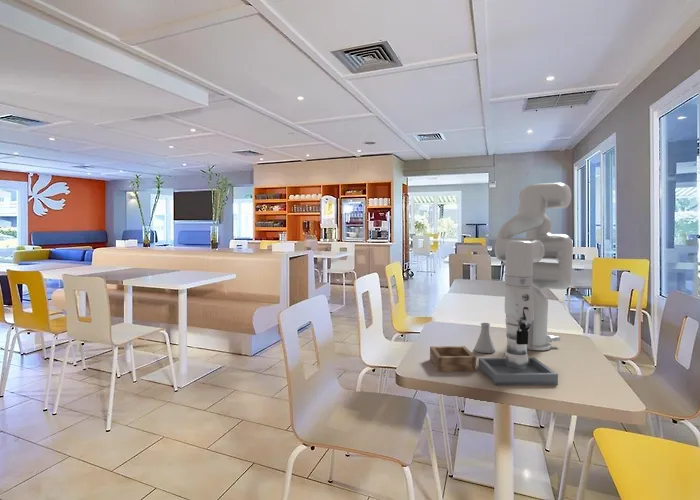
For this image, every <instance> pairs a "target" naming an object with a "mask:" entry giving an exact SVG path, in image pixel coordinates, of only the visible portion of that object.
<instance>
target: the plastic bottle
mask: <svg viewBox="0 0 700 500" xmlns="http://www.w3.org/2000/svg"><path fill="white" fill-rule="evenodd" d="M521 320H525V319H521ZM504 321H505V326H506V327H505V328H506V338H507V339H506V350H505V353H504V358H505V363H506V365H507V366H508V367H510V368H513V369H525V368H526V367H527V366H528V361H529V360H528V357H529V355H528V349H527V344H522V345H518V344H517V343H516V340H517V331H518V325H517V321H516V320H515V319H514V317H513V316H512V314H511V313H508V315H507V316H506V315H505V320H504ZM522 324H524V323H521V326H522Z"/></svg>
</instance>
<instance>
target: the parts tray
mask: <svg viewBox="0 0 700 500" xmlns="http://www.w3.org/2000/svg"><path fill="white" fill-rule="evenodd" d="M528 360H529V361H528V366H527V367H526V368H525V369H513V368H510V367H508V366H507V365H506V363H505V357H478V363H477V364H478V366H477V367H478V369H480V371H481V372H483V374H484V375H485V376H486V377H487V378H488V379H489V380H490V381H491V382H492V383H493V385H495V386H538V385H539V386H540V385H543V386H544V385H545V386H547V385H551V386H552V385H558V384H559V383H558V382H559V374H558V373H557V372H555V371H554V370H552V369H551V368H550V367H549V366H547V365H546V364H544V363H543V362H541V361H539V359H537V358H535V357H529V356H528Z"/></svg>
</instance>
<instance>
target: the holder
mask: <svg viewBox="0 0 700 500" xmlns="http://www.w3.org/2000/svg"><path fill="white" fill-rule="evenodd" d="M429 360H430V362H431V364H432V365H433V367H434V368H435V370H436V372H437V373H438V372H439V373H442V372H443V373H444V372H447V373H449V372H450V373H451V372H453V373H455V372H476V370H477V357H476V355H474V354H473V352H471V351H470V349H468V348H467V347H466V346H465V345H458V346H456V345H454V346H450V345H449V346H444V345H443V346H441V345H440V346H439V345H438V346H429Z"/></svg>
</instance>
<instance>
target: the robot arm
mask: <svg viewBox="0 0 700 500" xmlns="http://www.w3.org/2000/svg"><path fill="white" fill-rule="evenodd" d="M571 201H572V190H571V188H570V186H569V185H568V184H566V183H563V182H547V183H546V182H545V183H534V184H533V183H532V184H529V185H527V186H525V187H524V188H522V189H521V190H520V191H519V203H518V208H517V214H515V215H514V216H513V217H511V218H509V219H508V220H507V221H506V222H504V224H502V225H501V227H500V228H499V230H498V233H497V236H496V240H495V245H494V255H495V258H496V259H497V260H498V261H500V262H505V267H504V268H505V273H504V274H505V277H504V279H505V280H504V286H505V293H504V294H505V295H504V314H505V317H506V316H507V315H508V313H511V314H512V316H513V317H514V319H515V320H516V321H517V325H518V331H517V340H516V343H517V344H518V345H522V344H527V350H530V351H548V350H550V349H551V348H552V342H560V341H561V337H560V335H559V336H558V335H555V336H554V335H551V334H548V322H549V321H548V317H549V313H548V312H549V300H548V297H547V295H546V294H545V293H544V291H543V290H542V289H546V290H547V289H549V290H567V289H569V288H570V286H571V284H572V275H573V274H572V273H573V254H574V253H573V252H574V249H573V248H574V247H573V246H574V245H573V240H572V238H571V237H570V236H569V235H567V234H564V233H551V232H552V230H551V229H552V221H551V219H550V217H549V216H548V215H547V214H546V210H547V209H548V210H549V209H551V210H552V209H567V208H568V207H569V206H570V204H571ZM522 233H523V234H524V233H525V236H524V237H525V238H522V237H521V238H519V237H518V238H516V237H515V236H517V235H519V234H522ZM513 237H514V238H513ZM542 260H549V261H550V260H551V261H553V260H554V261H557V262H545V261H542ZM521 319H525V320H521ZM521 323H524V324H522V326H521Z"/></svg>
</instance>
